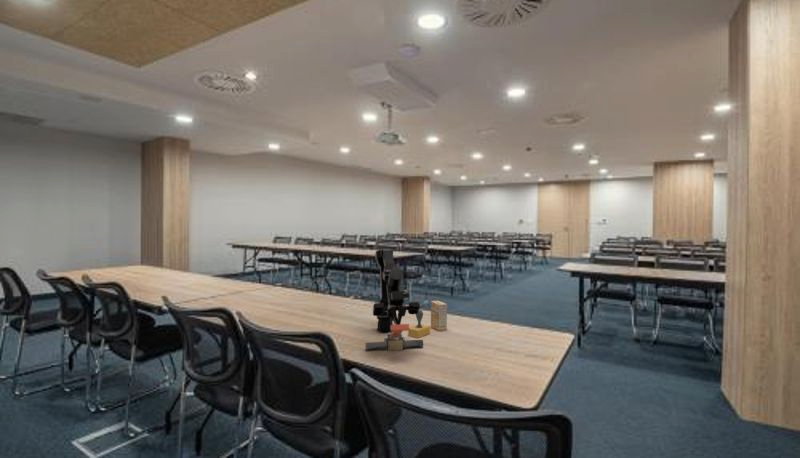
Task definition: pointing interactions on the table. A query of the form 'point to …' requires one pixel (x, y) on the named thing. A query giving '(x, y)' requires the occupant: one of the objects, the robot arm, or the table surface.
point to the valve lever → (398, 329)
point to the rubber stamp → (419, 327)
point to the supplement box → (439, 315)
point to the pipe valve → (394, 344)
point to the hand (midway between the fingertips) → (398, 327)
